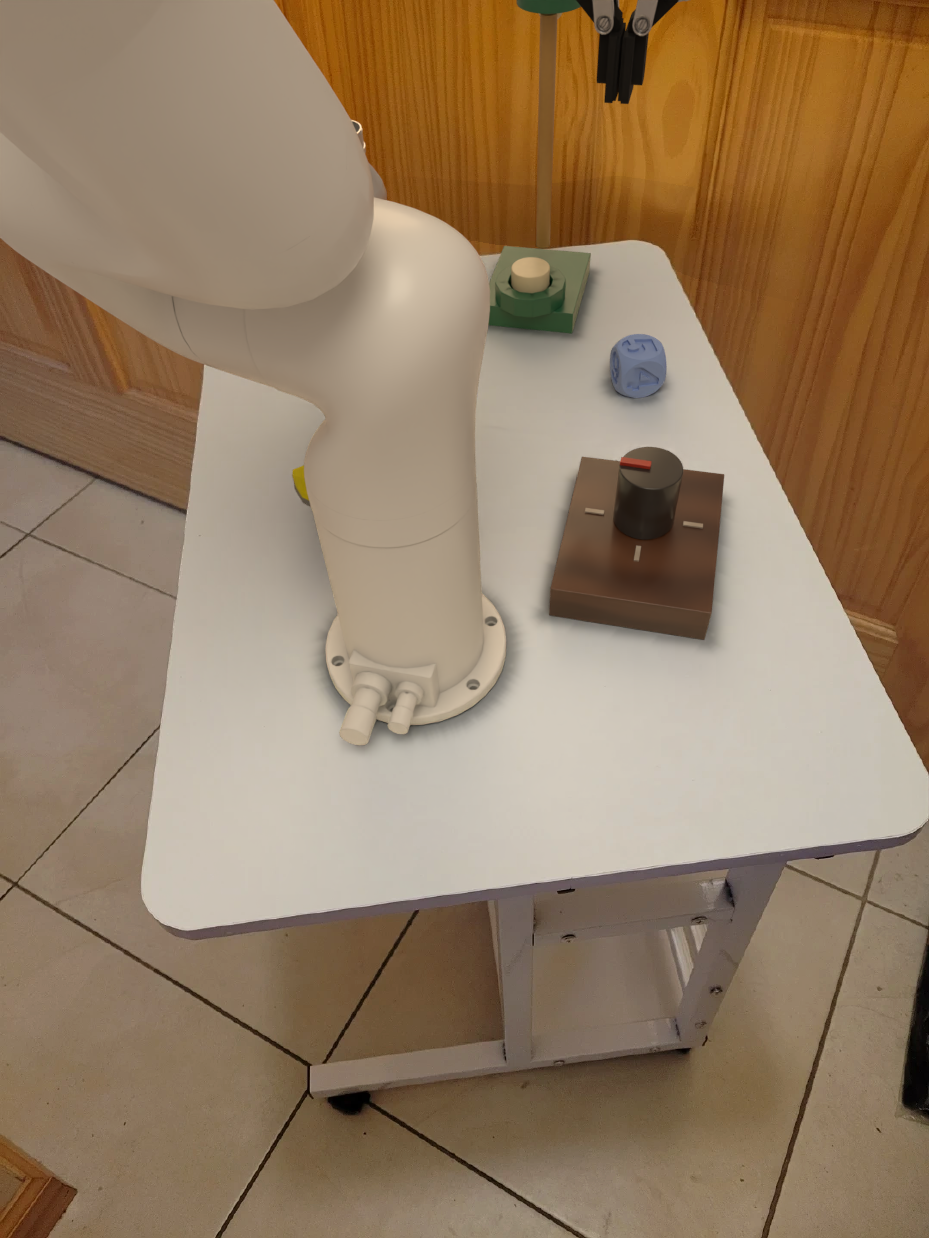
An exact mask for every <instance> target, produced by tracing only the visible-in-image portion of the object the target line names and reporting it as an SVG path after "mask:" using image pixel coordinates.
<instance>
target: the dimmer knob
mask: <svg viewBox="0 0 929 1238" xmlns="http://www.w3.org/2000/svg"><path fill="white" fill-rule="evenodd" d="M619 461H620V464H619V472H618V480H617V488H616V497H615V505H614V513H613V519H614V522H615V525H616V526H617V528H618V529H619V530H620V531H621V532H623V533H624V534H626V535H628V536H630V537H633V538H636V539H643V540H648V539H655V538H659V537H661V536H663V535H665V534H666V533H667V532H668V531H669V530H670V529H671V528H672V526H673V523H674V518H675V513H676V508H677V502H678V497H679V492H680V487H681V482H682V477H683V469H684V465H683V463H682V461H681V460H680V458H679V457H678V456H677V455H676V454H675V453H673V452H672V451H670V450H667V449H665V448H663V447H657V446H642V447H636V448H634V449H632V450H629V451H628V452H627V453H625V454H624V455H623V456H621V457H620V460H619Z"/></svg>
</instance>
